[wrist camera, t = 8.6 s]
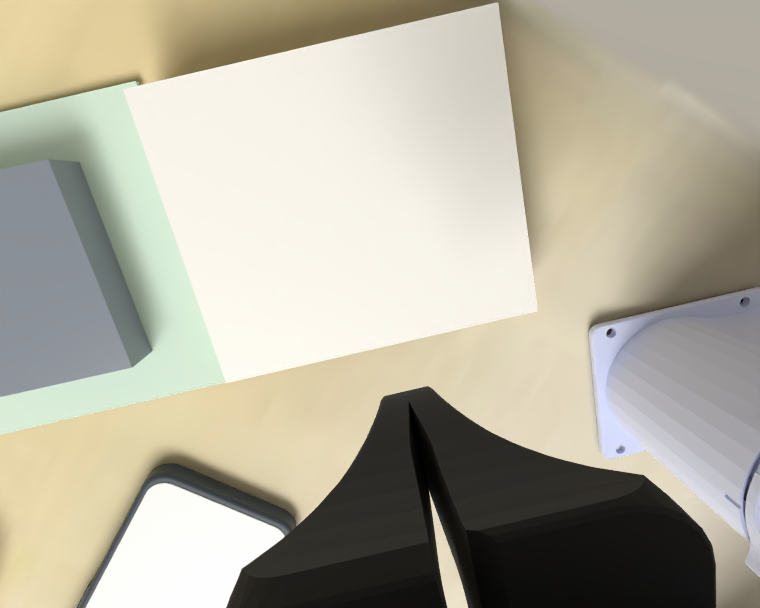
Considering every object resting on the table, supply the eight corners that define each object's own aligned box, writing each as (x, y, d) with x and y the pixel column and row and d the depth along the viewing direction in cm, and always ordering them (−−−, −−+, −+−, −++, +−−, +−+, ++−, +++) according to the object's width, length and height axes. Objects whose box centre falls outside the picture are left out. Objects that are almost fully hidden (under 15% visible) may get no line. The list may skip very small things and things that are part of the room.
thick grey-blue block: (-103, 192, 17) (-56, 192, 19) (0, 397, 19) (33, 378, 21) (47, 159, 17) (79, 161, 19) (132, 367, 19) (152, 351, 21)
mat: (139, 82, 18) (135, 80, 18) (239, 377, 22) (238, 379, 22) (-228, 167, 18) (-237, 167, 18) (-65, 447, 22) (-71, 450, 22)
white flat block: (475, 31, 18) (497, 1, 16) (513, 294, 22) (537, 310, 19) (158, 104, 18) (122, 89, 16) (243, 357, 22) (226, 383, 19)
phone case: (162, 448, 23) (55, 653, 26) (149, 466, 22) (36, 682, 25) (306, 510, 25) (191, 697, 28) (304, 531, 24) (181, 726, 26)
